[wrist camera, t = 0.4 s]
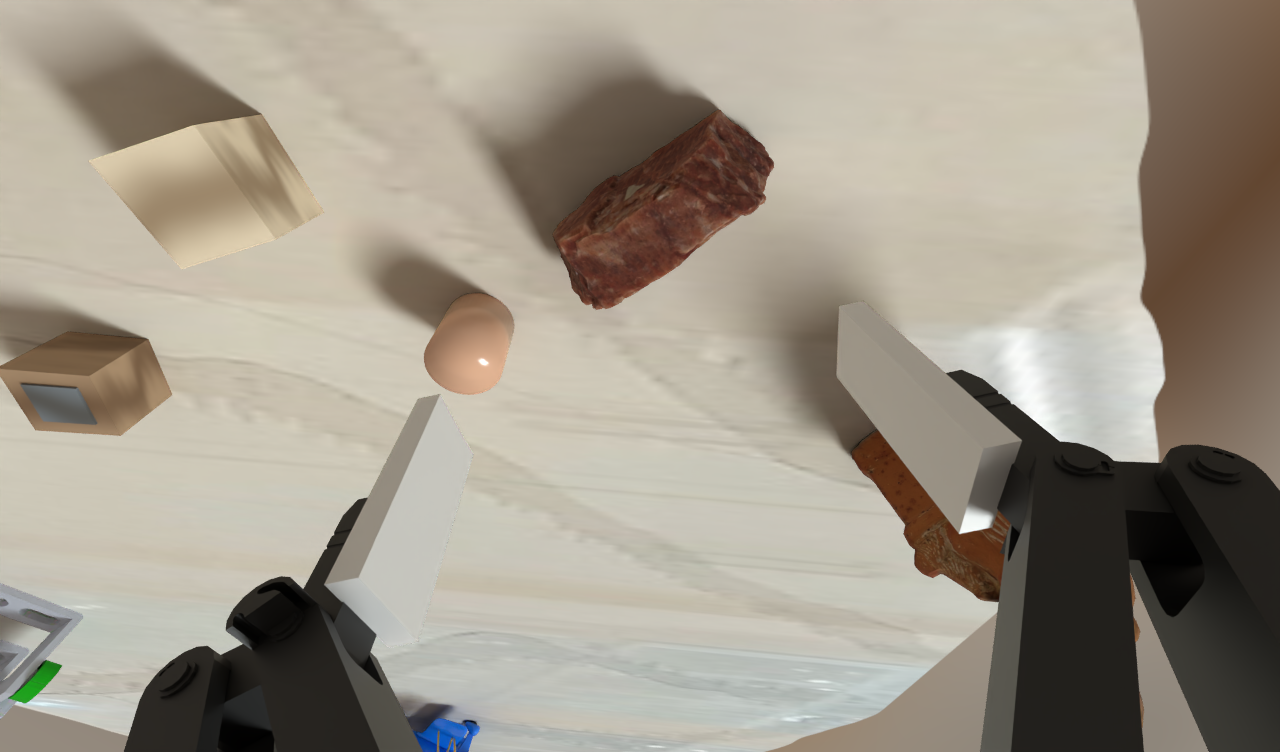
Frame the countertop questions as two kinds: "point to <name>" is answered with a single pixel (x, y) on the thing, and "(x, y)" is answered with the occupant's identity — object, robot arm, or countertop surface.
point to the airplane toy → (446, 736)
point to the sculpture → (939, 527)
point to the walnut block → (87, 383)
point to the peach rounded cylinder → (470, 344)
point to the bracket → (7, 655)
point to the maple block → (211, 188)
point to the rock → (662, 210)
